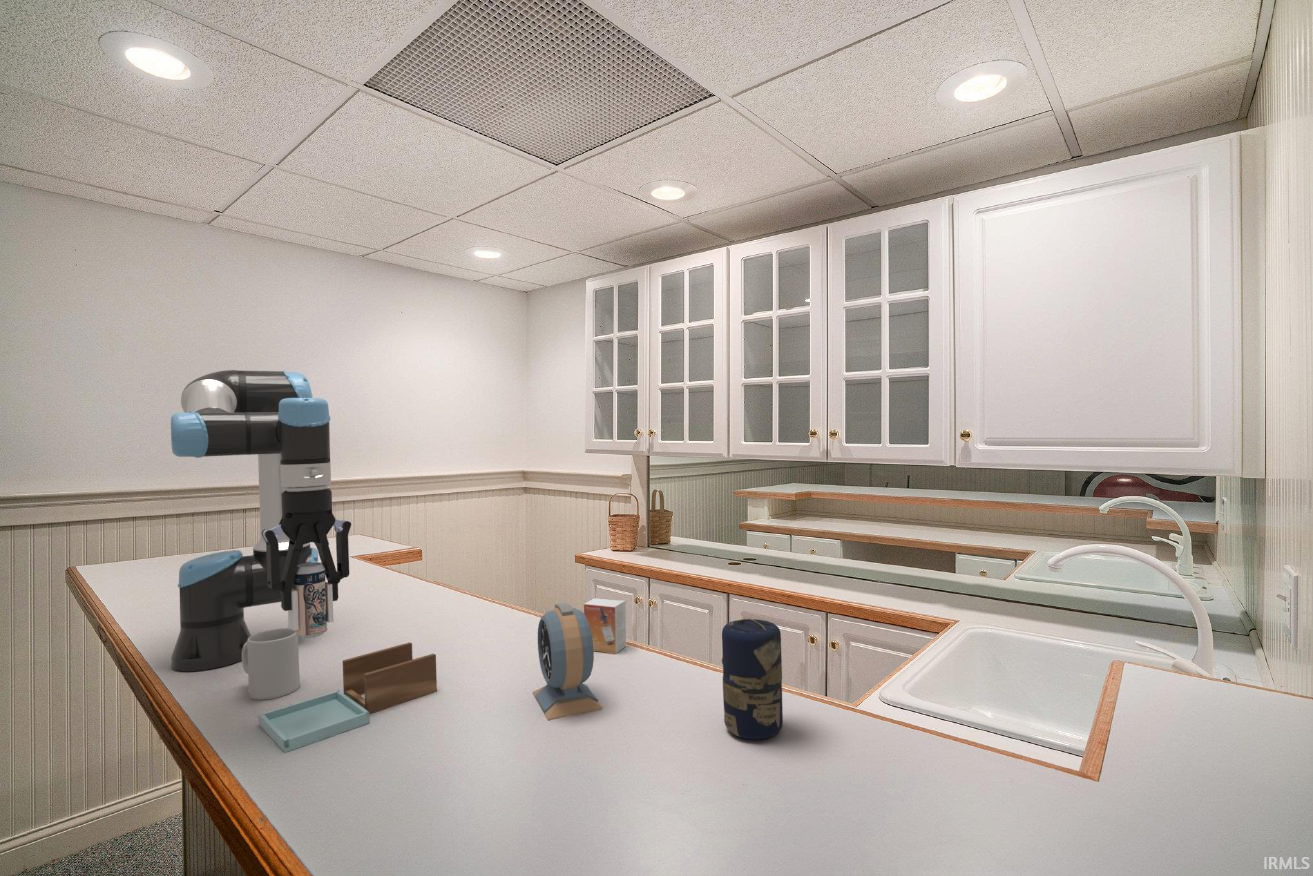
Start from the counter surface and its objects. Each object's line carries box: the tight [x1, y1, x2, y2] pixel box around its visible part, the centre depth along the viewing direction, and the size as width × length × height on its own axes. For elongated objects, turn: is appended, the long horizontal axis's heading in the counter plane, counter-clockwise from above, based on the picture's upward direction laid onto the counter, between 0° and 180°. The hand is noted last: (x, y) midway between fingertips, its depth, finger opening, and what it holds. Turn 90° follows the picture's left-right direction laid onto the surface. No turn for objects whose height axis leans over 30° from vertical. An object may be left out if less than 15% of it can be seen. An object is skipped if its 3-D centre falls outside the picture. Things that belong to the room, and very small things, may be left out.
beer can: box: [294, 561, 328, 639], centre depth 107 cm, size 5×5×12 cm
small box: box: [583, 597, 627, 655], centre depth 141 cm, size 8×6×10 cm
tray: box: [258, 690, 371, 753], centre depth 107 cm, size 14×13×2 cm
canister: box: [721, 618, 784, 740], centre depth 101 cm, size 10×10×18 cm
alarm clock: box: [532, 602, 603, 721], centre depth 114 cm, size 14×10×18 cm
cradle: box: [342, 642, 438, 714], centre depth 119 cm, size 11×13×7 cm
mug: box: [241, 627, 301, 701], centre depth 122 cm, size 12×8×11 cm
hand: (311, 624), depth 107 cm, fingers closed on beer can, 5 cm apart
